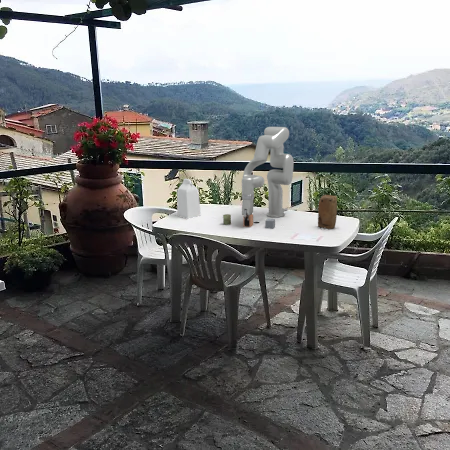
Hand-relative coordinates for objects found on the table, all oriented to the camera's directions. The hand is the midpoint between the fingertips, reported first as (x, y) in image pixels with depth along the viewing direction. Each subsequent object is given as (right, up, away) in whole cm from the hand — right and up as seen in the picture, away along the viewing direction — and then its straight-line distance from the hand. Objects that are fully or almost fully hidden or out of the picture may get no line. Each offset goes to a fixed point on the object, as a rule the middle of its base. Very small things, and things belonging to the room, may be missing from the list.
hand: (248, 224), depth 288 cm
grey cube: (+14, -2, -5) cm, 15 cm away
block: (+48, -2, -9) cm, 49 cm away
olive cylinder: (-13, 0, +5) cm, 14 cm away
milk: (-40, +6, +29) cm, 50 cm away
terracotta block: (0, -1, 0) cm, 1 cm away
